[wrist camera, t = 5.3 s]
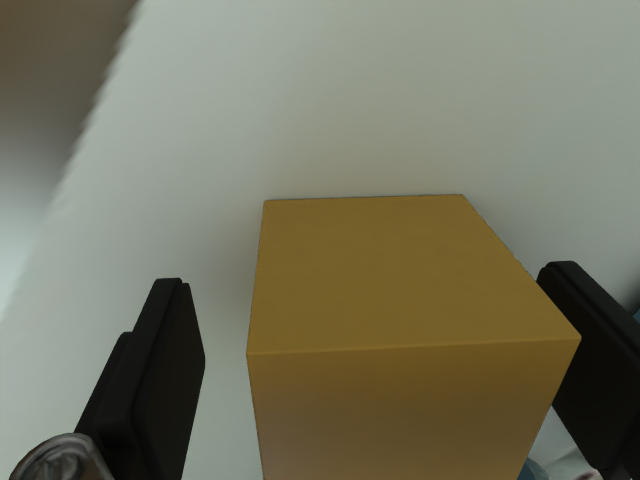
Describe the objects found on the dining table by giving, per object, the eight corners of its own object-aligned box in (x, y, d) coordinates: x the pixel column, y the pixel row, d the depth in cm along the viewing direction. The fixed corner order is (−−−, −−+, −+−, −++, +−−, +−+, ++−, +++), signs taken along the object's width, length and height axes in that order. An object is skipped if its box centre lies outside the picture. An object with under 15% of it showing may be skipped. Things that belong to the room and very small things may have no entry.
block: (462, 193, 11) (584, 336, 7) (433, 337, 14) (504, 507, 10) (263, 199, 11) (245, 354, 6) (275, 344, 14) (269, 524, 9)
